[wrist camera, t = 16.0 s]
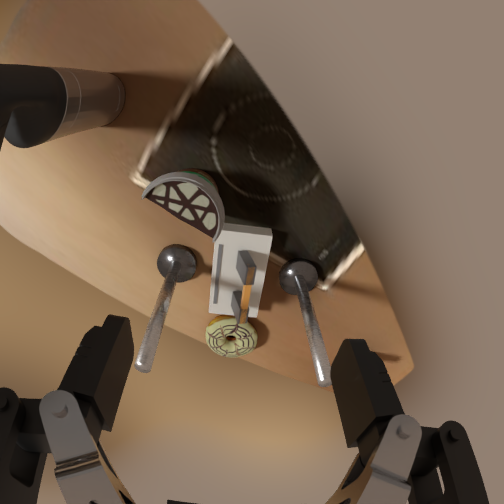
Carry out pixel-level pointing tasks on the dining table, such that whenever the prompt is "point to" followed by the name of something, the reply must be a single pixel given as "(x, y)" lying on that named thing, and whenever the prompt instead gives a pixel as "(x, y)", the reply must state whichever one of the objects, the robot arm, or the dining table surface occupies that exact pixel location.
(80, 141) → the dining table surface
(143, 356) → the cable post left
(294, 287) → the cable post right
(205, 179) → the food container
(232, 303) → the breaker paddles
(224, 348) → the decorated donut
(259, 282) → the switch panel
